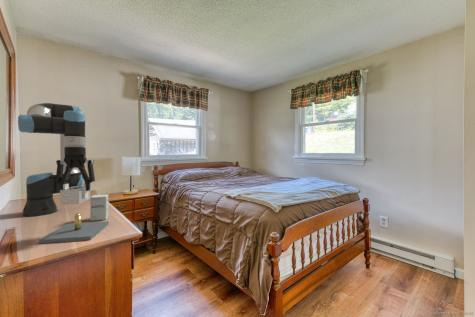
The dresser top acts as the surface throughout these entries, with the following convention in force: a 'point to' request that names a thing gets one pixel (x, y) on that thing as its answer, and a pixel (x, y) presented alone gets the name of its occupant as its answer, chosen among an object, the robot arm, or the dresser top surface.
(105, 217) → the supplement box
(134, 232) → the dresser top surface
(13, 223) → the dresser top surface
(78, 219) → the peg
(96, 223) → the board
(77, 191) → the grey rectangular box
